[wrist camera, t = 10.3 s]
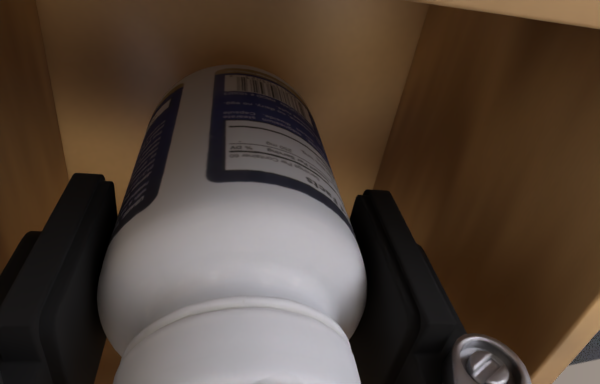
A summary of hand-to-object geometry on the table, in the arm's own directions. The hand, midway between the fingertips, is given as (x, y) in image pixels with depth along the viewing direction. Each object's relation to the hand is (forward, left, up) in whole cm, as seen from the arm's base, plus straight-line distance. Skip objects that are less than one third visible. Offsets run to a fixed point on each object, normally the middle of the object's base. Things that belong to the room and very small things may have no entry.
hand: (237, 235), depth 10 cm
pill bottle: (0, 0, -5) cm, 5 cm away
